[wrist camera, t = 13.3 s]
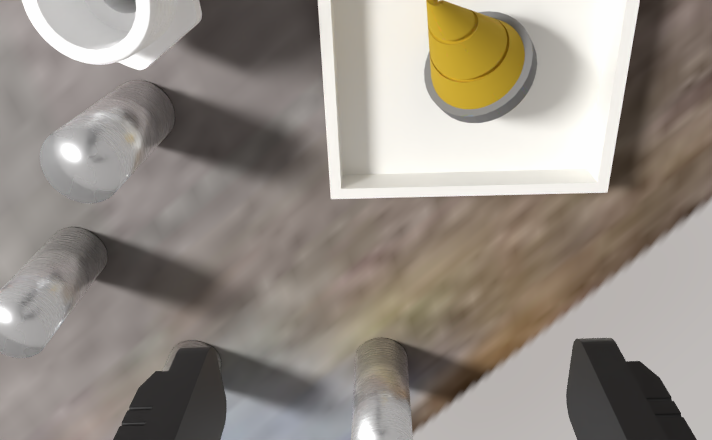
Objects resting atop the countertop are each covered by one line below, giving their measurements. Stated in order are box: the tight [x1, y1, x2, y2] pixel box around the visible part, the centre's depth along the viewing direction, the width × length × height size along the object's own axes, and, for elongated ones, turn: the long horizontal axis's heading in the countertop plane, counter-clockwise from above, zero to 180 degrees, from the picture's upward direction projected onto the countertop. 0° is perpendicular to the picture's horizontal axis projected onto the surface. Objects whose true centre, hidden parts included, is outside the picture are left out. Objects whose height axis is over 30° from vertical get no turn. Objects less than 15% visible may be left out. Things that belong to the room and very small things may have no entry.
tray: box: [318, 0, 640, 199], centre depth 30 cm, size 15×15×2 cm
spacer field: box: [0, 80, 413, 440], centre depth 34 cm, size 22×23×8 cm
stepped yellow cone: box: [424, 0, 537, 123], centre depth 28 cm, size 5×5×10 cm
